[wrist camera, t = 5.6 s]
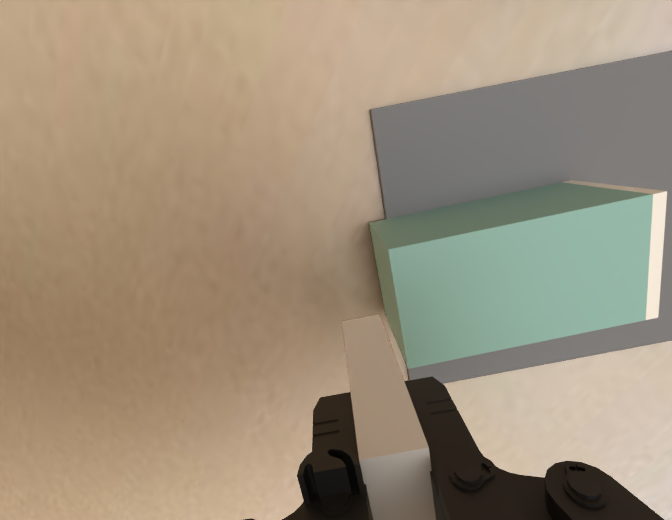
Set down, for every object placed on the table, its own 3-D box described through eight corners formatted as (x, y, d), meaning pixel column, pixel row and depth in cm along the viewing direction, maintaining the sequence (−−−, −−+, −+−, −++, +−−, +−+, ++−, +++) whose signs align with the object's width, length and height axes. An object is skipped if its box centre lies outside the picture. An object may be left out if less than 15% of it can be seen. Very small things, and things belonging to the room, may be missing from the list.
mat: (369, 110, 20) (370, 109, 19) (694, 47, 20) (703, 44, 19) (409, 384, 25) (411, 389, 25) (665, 336, 25) (672, 340, 24)
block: (388, 249, 15) (667, 191, 15) (369, 222, 21) (571, 180, 21) (408, 369, 17) (658, 317, 17) (385, 314, 23) (572, 275, 23)
